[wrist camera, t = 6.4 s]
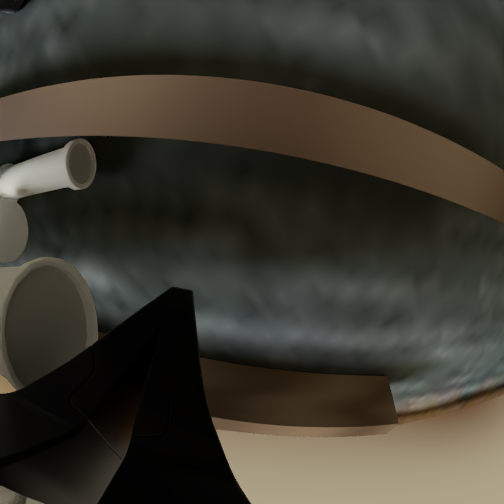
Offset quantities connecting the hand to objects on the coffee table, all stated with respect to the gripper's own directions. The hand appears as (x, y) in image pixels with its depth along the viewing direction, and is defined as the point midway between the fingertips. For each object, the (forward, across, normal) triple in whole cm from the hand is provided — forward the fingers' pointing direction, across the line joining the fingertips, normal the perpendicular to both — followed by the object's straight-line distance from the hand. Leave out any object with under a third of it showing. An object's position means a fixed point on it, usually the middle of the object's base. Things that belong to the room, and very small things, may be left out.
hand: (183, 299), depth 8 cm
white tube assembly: (+2, +10, 0) cm, 10 cm away
